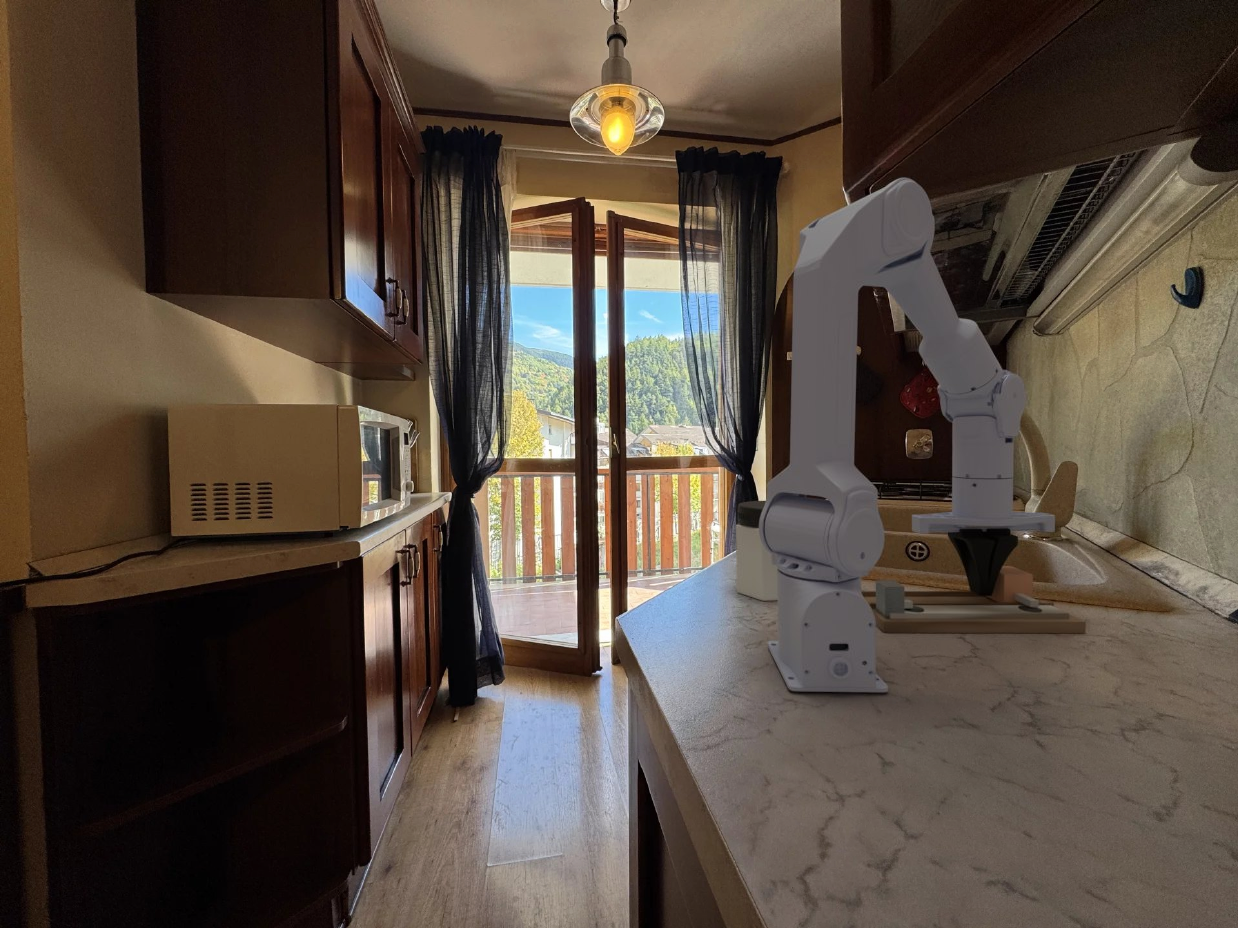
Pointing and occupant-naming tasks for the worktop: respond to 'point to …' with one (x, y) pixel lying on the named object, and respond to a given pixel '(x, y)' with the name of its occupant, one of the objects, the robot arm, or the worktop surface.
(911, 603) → the fixed leg
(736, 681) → the worktop surface
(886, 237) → the robot arm
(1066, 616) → the board
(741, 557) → the jar
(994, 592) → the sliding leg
